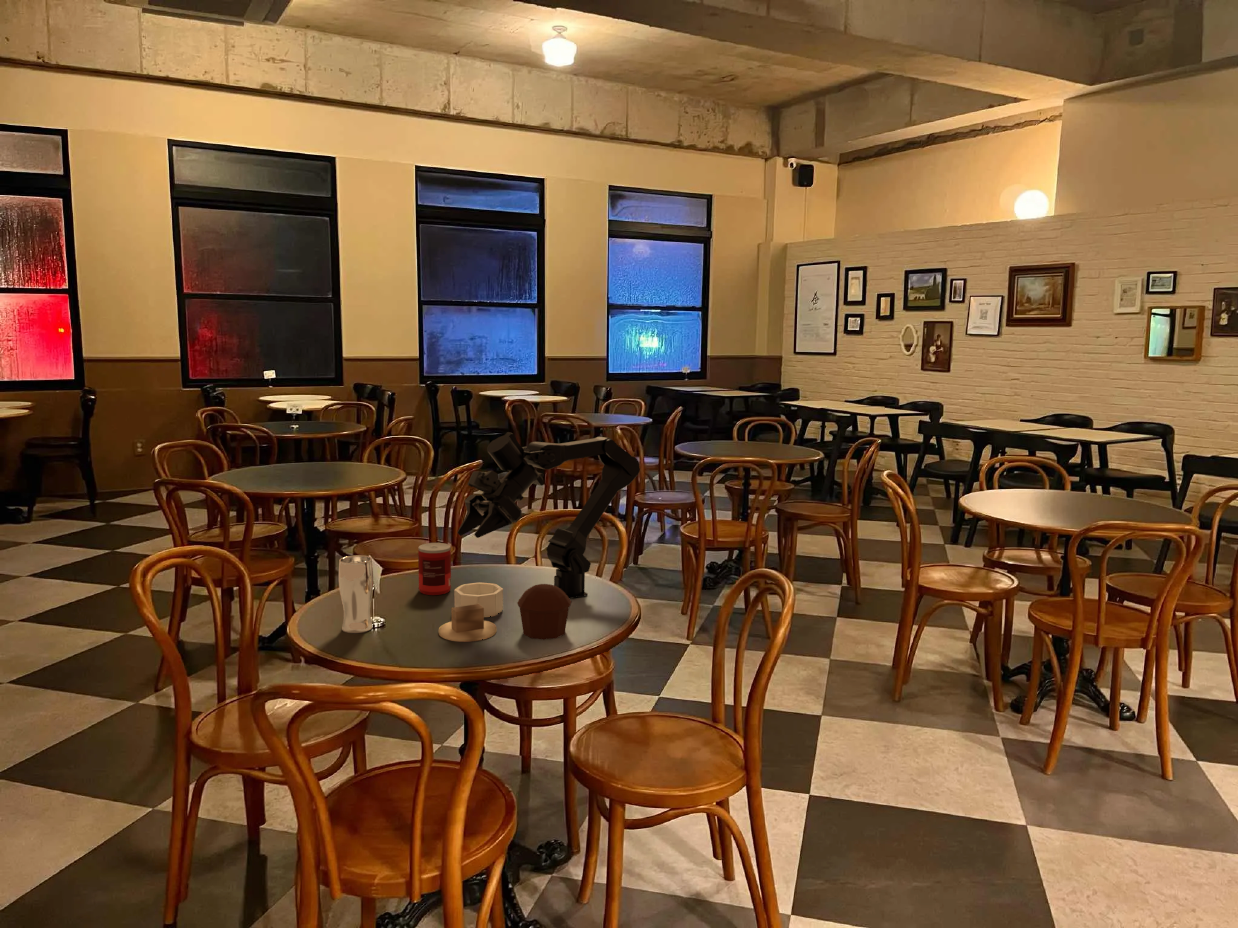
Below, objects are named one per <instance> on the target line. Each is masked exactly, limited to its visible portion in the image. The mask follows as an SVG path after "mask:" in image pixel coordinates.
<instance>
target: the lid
mask: <svg viewBox="0 0 1238 928" xmlns="http://www.w3.org/2000/svg"><path fill="white" fill-rule="evenodd" d="M450 611H451V621H449V622H448V621H447V622H446V623H443V624H442V625H440V626H439V628H438V636H440V637H441V638H442V639H444V640H447V641H451V642H460V643H461V642H465V643H467V642H479V641H483V640H487V639H489V638H492V637H493V636H495V635H496V633H497V630H498V629H497V625H496V624H495V623H494V622H491V621H489V620H485V617H484V608H483V607H482V606H481V605H479V604H474V605H467V606H460V607H455V606H454V607H451V610H450ZM482 639H483V640H482Z"/></svg>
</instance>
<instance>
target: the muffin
mask: <svg viewBox="0 0 1238 928" xmlns="http://www.w3.org/2000/svg"><path fill="white" fill-rule="evenodd" d="M516 603H517V606H518V608H519V612H520V620H521V627H522V631H523V632H522V633H523V635H524V636H527V637H529V638H530V639H538V640H549V639H550V640H551V639H552V640H553V639H558V638H560V637H562V636H564V635H566V634H565V633H566V628H567V623H568V615H569V610H570V607H571V604H572V600H571V598H569V597H568V596H567V595H566V594H565V592H564V591H562V590H561V589H560V588H558V587H557V586H554V584H548V583H539V584H535V585H532V586H531V587H529V588H528V589H526V590H525V591H524V592H523V593H522V595H521V596H520V598H519V599H518V601H517V602H516Z"/></svg>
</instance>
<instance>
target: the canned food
mask: <svg viewBox="0 0 1238 928" xmlns="http://www.w3.org/2000/svg"><path fill="white" fill-rule="evenodd" d="M451 548H452V547H451V545H450V544H448V543H445V542H444V543H443V542H428V543H423V544H420V545H419V546H418V548H417V549H418V550H417V551H418V553H417V555H418V556H417V558H418V561H417V563H418V565H417V566H418V590H419V593H420V594H423V595H428V596H441V595H444V594H448V593H449V592H451V590H452V589H451V588H452V549H451Z"/></svg>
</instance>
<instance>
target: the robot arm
mask: <svg viewBox="0 0 1238 928" xmlns="http://www.w3.org/2000/svg"><path fill="white" fill-rule="evenodd" d="M486 451H487V453H488V454H489V455H490V457H491V458H492V459H493V460H494V462H495V463H496V464H497V466H498V467H499V469H500V470H502V471H508V472H507V473H506V474H505V475H504V476H503V477H502V478H499V476H498V475H499V474H498V472H496V471H494V470H488V471H487V472H484V471H477V470H476V471H475V470H474V471H473V472H472V473H471V476H470V478H469V479H468V480H469V481H467V485H468V486H469V487H471V488H472V487H473V488H475V489H477V490H479V491H480V492H482V493H481V494H479V495H478V494H469V496H467V498H466V499H465V500H464V503H465V505H464V506H465V508H466V513H465V516H464V519H463V520H462V522H461V524H460V526H459V528H458V530H457V531H456V532H457V535H459V536H460V537H461V536H463V535H466V534H467V533H468V532H469V533H470V532H471V531H473V530H474V529H476V528H477V530H476V531H475V533H474V534H473V535H474V537H475V538H478V539H479V538H481V537H483V536H486V535H488V534H490V533H493V532H494V531H497V530H499V529H501V528H504V527H507V526H509V525H512V524H513V523H515V524H516V523H517V522H518V521H519V520H520V519H521V518H522V516H523V515H522V514H523V513H522V511H523V510H522V509H521V508H520V507H519V506H518V505H517V503H516V502H518V501H522V500H523V499H524V496H523V495H524V494H525V492H526V491H527V490H528V489H529V488H530V487H531V486H532V484H534V485H537V486H540V487H541V486H543V485H544V478H543V477H544V474H543V473H541V472H538V471H537V469H536V468H538V469H542V470H551V469H554V468H557V467H559V466H562V464H564V463H565V462H568V461H573V460H578V459H583V458H589V457H597V456H598V460H599V462H600V463H602V465H603V467H602V469H601V478H600V479H601V480H600V482H599V483H598V485H596V488H595V489H594V490H593V492H592V493H591V495H590V496H589V498H588V499H587V501H586V502H585V504H584V505H583V507H582V508H581V509H580V511H579V512H578V514H577V515H576V517H575V518H574V520H573V521H572V523H571V524H570V525H569V527H567V528H565V529H563V528H557V529H556V530H555V532H554V534H553V535H552V537H551V538H550V539H548V541H547V542H548V545H547V546H546V555H547V558H548V559H549V561H550V564H551V567H552V568H555V575H554V577H553V579H554V580H553V585H554V586H557V587H558V588H560V589H561V590H562V591H564V592H565V594H566V595H567V596H568V597H569V599H574V598H575V599H576V598H581V597H588V595H589V593H588V592H586V591H585V587H586V586H585V585H586V584H585V583H586V580H585V577H586V573H589V571H590V568H591V565H592V563H591V562H590V560H588V559H587V557H586V556H584V554H585V551H586V549H587V538H588V537H589V535H590V533H592V530H593V529H594V527H596V525H597V523H598V522H599V520H600V519H601V517H602V516H603V515H604V513H605V511H606V510H607V508H608V507H609V505H610V504H611V503H612V501H613V499H614V498H615V497H616V495H617V494H618V492H619V491H621V490H622V489H625V488H626V487H628V486H630V484H632V483H633V481H634V480H635V479H636V477H638V475H639V473H640V471H641V468H640V462H639V460H638V458H636V457H635V456H632V454H630V453H629V452H627V451H626V450H625V449H624V448H622V447H621V446H619V445H618V444H617V443H616V441H614V440H613V439H612V438H610V437H603V436H597V437H594V438H587V439H581V440H575V441H569V442H562V443H554V442H553V443H552V442H547V441H546V442H543V441H542V442H541V441H532V442H529V443H528V445H527V446H522V445H521V444H520V442H519V441H518V439H517V438H516V436H515V435H514V433H512V432H509V431H508V432H506V433H505V434H504V435H502V436H498V437H497V438H495V439H492V441H491V442H490V443H488V445H487V447H486Z"/></svg>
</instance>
